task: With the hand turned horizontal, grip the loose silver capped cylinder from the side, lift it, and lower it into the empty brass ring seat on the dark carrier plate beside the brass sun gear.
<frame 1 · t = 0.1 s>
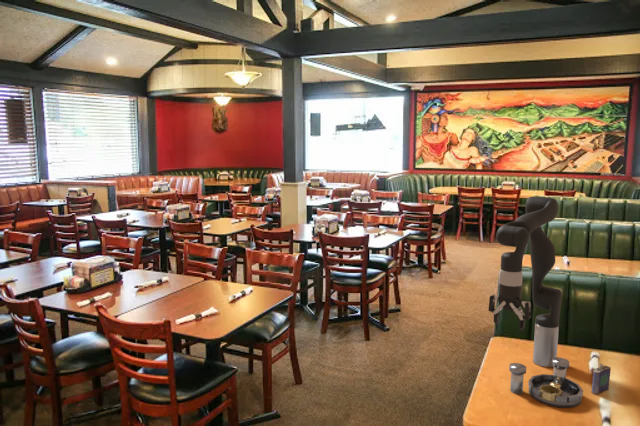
hand: (508, 326, 180), 29 cm above the table, tool pointing down, fingers open, 8 cm apart
carrier: (554, 395, 190), on the table
silver capped cylinder: (516, 391, 193), on the table
flask: (599, 391, 193), on the table
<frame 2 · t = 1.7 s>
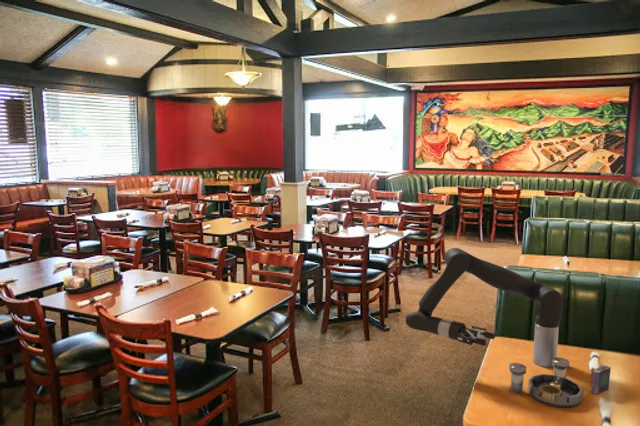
hand: (490, 339, 198), 18 cm above the table, tool horizontal, fingers open, 8 cm apart
nothing on the table moved.
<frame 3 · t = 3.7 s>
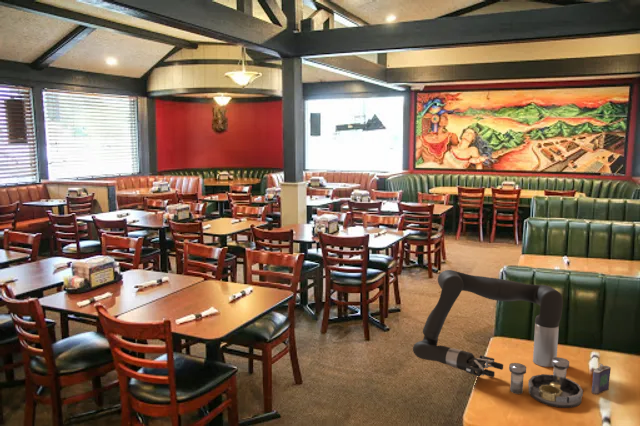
hand: (498, 370, 197), 6 cm above the table, tool horizontal, fingers open, 8 cm apart
nothing on the table moved.
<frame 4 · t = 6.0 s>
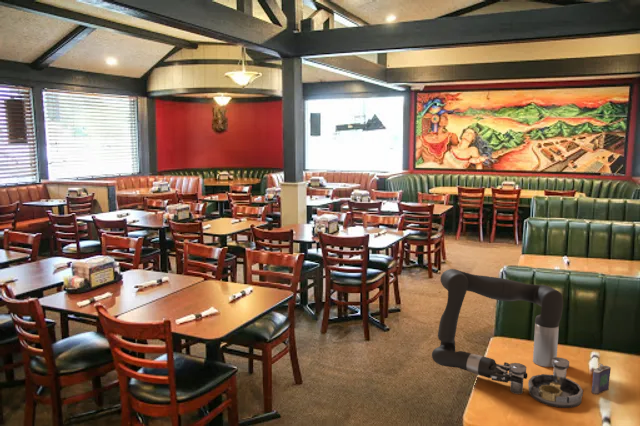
hand: (524, 378, 191), 6 cm above the table, tool horizontal, fingers closed on silver capped cylinder, 4 cm apart
silver capped cylinder: (516, 391, 193), on the table, touching gripper
everything else where it was.
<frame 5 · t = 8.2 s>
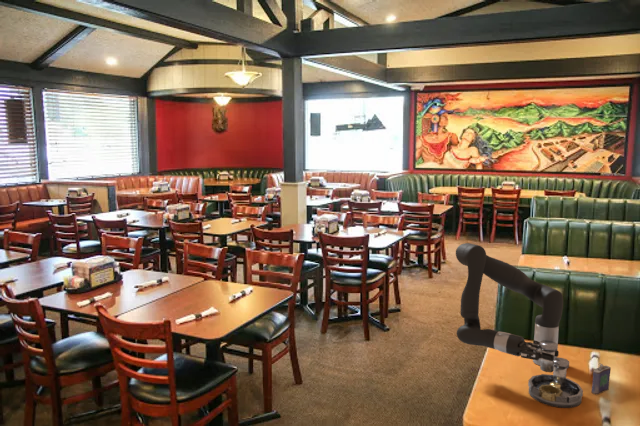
hand: (555, 356, 183), 18 cm above the table, tool horizontal, fingers closed on silver capped cylinder, 4 cm apart
silver capped cylinder: (546, 369, 185), point 12 cm above the table, touching gripper
everything else where it was.
when the fingers open (9 cm above the table, at t = 10.8 s): silver capped cylinder stays where it is, resting on carrier.
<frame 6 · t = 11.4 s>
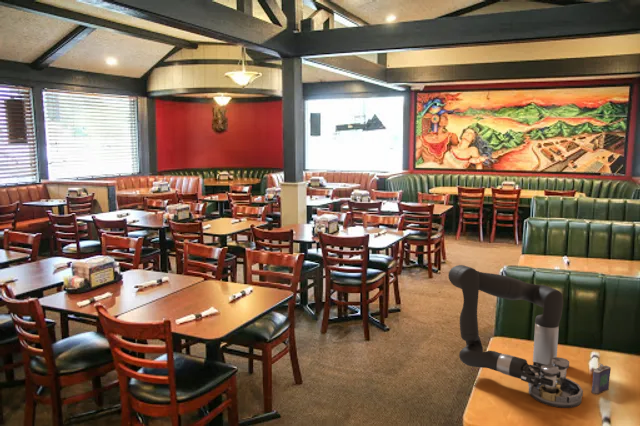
hand: (556, 379, 183), 9 cm above the table, tool horizontal, fingers open, 8 cm apart
silver capped cylinder: (549, 394, 186), point 2 cm above the table, tilted 5°, touching carrier, gripper
everything else where it was.
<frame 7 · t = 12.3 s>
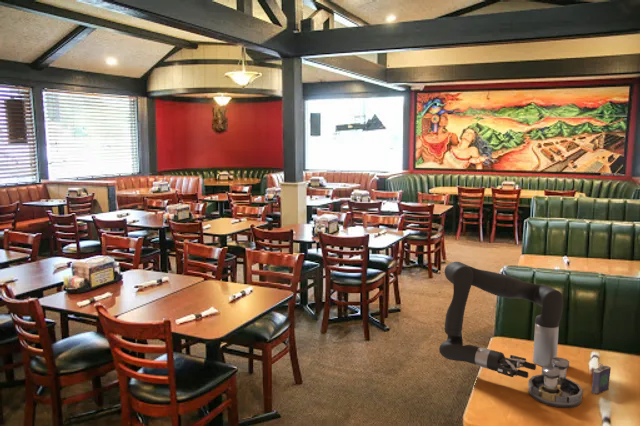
hand: (531, 371, 189), 9 cm above the table, tool horizontal, fingers open, 8 cm apart
silver capped cylinder: (550, 395, 186), point 2 cm above the table, touching carrier
everything else where it was.
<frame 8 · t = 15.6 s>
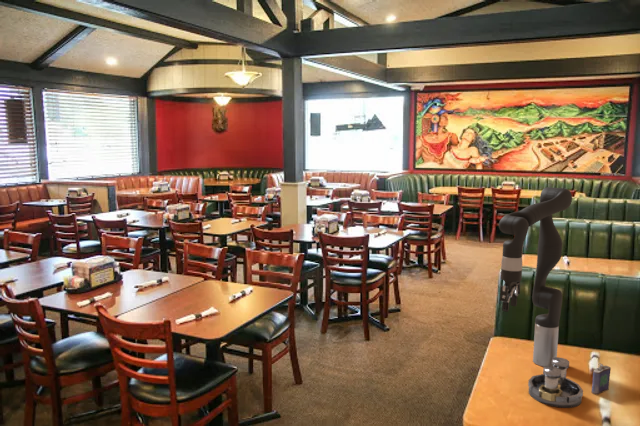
hand: (509, 308, 197), 30 cm above the table, tool pointing down, fingers open, 8 cm apart
nothing on the table moved.
at the end: silver capped cylinder 0.4 cm from the target spot on the carrier, point 2.0 cm above the carrier's base; silver capped cylinder tilted 1°; the gripper is holding nothing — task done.
